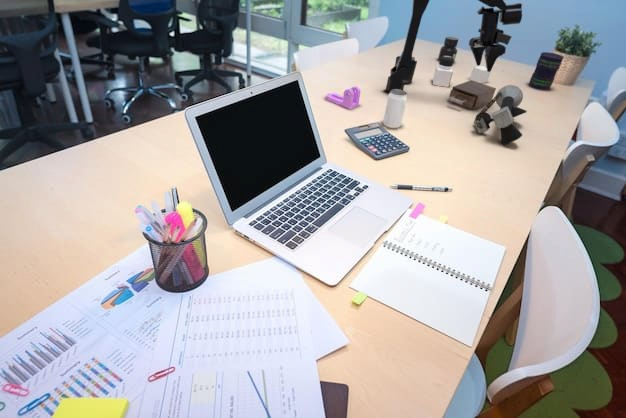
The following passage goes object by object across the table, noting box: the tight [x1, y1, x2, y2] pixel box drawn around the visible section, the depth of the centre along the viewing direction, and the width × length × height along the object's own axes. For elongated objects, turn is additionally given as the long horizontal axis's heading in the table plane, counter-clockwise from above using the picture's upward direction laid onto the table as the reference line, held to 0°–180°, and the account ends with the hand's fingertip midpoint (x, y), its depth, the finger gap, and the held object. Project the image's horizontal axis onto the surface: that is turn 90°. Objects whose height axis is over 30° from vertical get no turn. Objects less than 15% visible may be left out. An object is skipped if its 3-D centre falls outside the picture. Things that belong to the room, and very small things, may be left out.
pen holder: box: [394, 55, 418, 85], centre depth 177 cm, size 9×9×10 cm
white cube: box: [469, 65, 492, 84], centre depth 189 cm, size 6×6×6 cm
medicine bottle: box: [432, 56, 455, 88], centre depth 178 cm, size 7×7×12 cm
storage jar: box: [528, 52, 565, 91], centre depth 186 cm, size 10×10×15 cm
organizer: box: [451, 79, 497, 111], centre depth 164 cm, size 16×12×6 cm
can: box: [382, 89, 408, 129], centre depth 136 cm, size 6×6×12 cm
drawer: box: [447, 89, 476, 110], centre depth 161 cm, size 19×10×4 cm, turn 134°
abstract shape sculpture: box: [473, 84, 527, 145], centre depth 142 cm, size 15×13×30 cm
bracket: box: [326, 85, 361, 110], centre depth 151 cm, size 13×6×7 cm, turn 49°
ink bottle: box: [437, 36, 460, 64], centre depth 211 cm, size 10×9×12 cm
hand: (483, 68), depth 155 cm, fingers open, 9 cm apart
